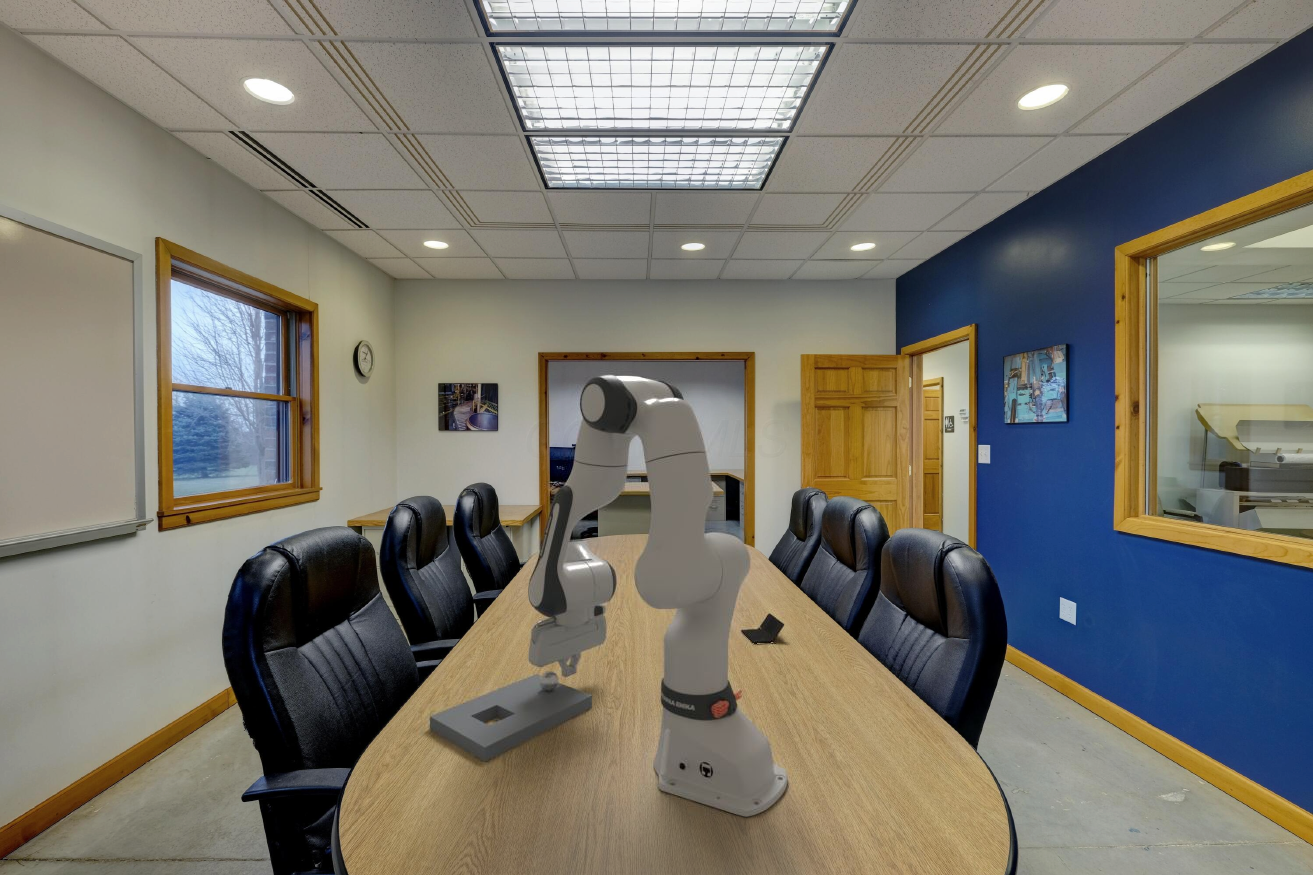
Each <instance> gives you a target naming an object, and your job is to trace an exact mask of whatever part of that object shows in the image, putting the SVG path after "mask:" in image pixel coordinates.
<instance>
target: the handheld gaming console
mask: <svg viewBox="0 0 1313 875" xmlns="http://www.w3.org/2000/svg"><path fill="white" fill-rule="evenodd" d="M784 626H785V623H784V622H782V621H781V620H780V619H778V618H777V617H775V616H774V615H773V614H772V613H768V614H767V615H766V617H765V618H764V620H762V623H761V624H760V625H759V627H757V628H750V629H749V628H747V629H741V630H740V632H742V633H743V634H744V635H745V636H746V637H747V638H748V639H749V640H750V641H751V642H750V643H752V644H753V643H754V644H757V643H771V642H774V641H775V640H776V638H777V637H778V636H779V634H780V632H781V631H782V629H783V628H784ZM742 633H741V634H742ZM743 634H742V635H743ZM745 636H744V637H745ZM746 637H745V638H746ZM747 638H746V639H747ZM748 639H747V640H748ZM749 640H748V641H749ZM774 643H775V642H774ZM754 644H753V645H754ZM757 645H758V644H757Z"/></svg>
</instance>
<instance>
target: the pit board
mask: <svg viewBox="0 0 1313 875" xmlns="http://www.w3.org/2000/svg"><path fill="white" fill-rule="evenodd" d="M540 677H541V675H540V674H537V673H536V674H532V675H530V676H528V677H526V678H523V679H520V680H517V681H515V682H513V683H510V684H508V685H505V686H502V687H500V688H497V689H495V690H493V691H490V692H488V693H485V694H483V695H480V696H478V697H474V698H472V699H470V700H467V701H464V702H463V703H460V704H456V705H455V706H452V707H449V708H447V709H445V710H443V711H440V712H437V713H434V714H432V715H430V716H429V730H430V731H431V732H434V733H435V734H437V735H438V736H440V737H441V738H443V739H445V740H447V741H448V742H450V743H452V744H453V745H455V746H457V747H458V748H461V750H464V751H466V752H467V753H469V754H470V755H472V756H474V757H476V758H477V759H479V760H480V761H482V762H484V763H485V762H488V761H489V760H491V759H494V758H496V757H498V756H500V755H502V754H504V753H505V752H507V751H510V750H512V749H513V748H515V747H518V746H519V745H521V744H523V743H525V742H527V741H530V740H531V739H533V738H535V737H537V736H539V735H541V734H543V733H545V732H547V731H548V730H549V731H550V730H551V729H553V728H555V727H557V726H559V725H561V724H563V723H564V722H566V721H568V720H570V719H571V720H572V718H574V717H576V716H578V715H580V714H583V713H584V712H586V711H589V710H590V709H592V708H593V695H591V694H588V693H586V692H584V691H581V690H579V689H576V688H573V687H571V686H569V685H566V684H563V683H561V682H558V685H557V687H556V688H555V689H554V690H552V691H545V690H543V689H542V688H541V687H540V683H539V680H540ZM496 718H497V719H499V720H498V721H496V722H494V723H492V724H490V725H489V724H487V722H490V721H491V720H494V719H496Z"/></svg>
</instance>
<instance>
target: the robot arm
mask: <svg viewBox="0 0 1313 875" xmlns="http://www.w3.org/2000/svg"><path fill="white" fill-rule="evenodd" d="M579 408H580V413H581V416H582V420H581V422H580V425H579V429H578V434H577V438H576V443H575V449H574V451H575V452H574V458H573V459H574V460H573V466H572V469H571V472H570V475H569V477H568V479H567V480H566V482H565V483H564V484H563V486H562V487H560V488H559V489H557V491H556V493H555V494H554V497H553V499H552V500H553V501H552V503H551V506H550V510H549V513H548V518H547V521H546V526H545V528H544V529H545V530H544V534H543V536H542V537H543V538H542V541H541V544H540V549H539V553H538V556H537V557H538V558H537V561H536V563H535V567H534V569H533V571H532V573H531V576H530V578H529V582H528V588H527V590H528V591H527V593H528V595H527V596H528V600H529V603H530V605H531V607H532V608H534V609H535V611H537V612H538V613H539V614H541V615H542V616H544V617H547V618H545V619H541V620H538V621H536V623H535V624H534V625H533V627H532V628H531V631H530V641H529V647H528V662H529V664H531V665H532V666H535V667H537V668H544V667H546V666H548V665H551V664H554V663H556V662H557V663H558V665H559V667H560V668H561V676H562V677H564V678H567V677H570V676H572V675H575V674H577V672H578V671H577V669H578V667H577V666H578V664H579V662H580V659H581V657H582V653H583V652H586V651H588V650H590V649H593V648H595V647H598V646H602V645H604V643H605V641H606V639H607V618H606V616H605V614H606V611H607V608H606V605H605V604H606V603H608V602H610V601H611V600H612V598H613V597H614V596H615V593H616V589H617V573H616V571H615V569H614V567H613V566H612V565H611V563H609V562H608V561H607V560H605V559H601V558H600V557H599V556H597V555H596V554H594V553H593V552H592V551H591V549H590V547H589V543H588V541H587V540H585V539H581V538H577V539H571V536H572V532H573V530H574V528H575V527H576V525H577V524H578V523H579V522H580V521H581V520H582V519H583V518H584V517H586V516H587V515H588V514H589V515H590V514H591V513H593V512H594V511H597V510H598V509H600V508H603V507H605V506H607V505H608V504H609V505H610V503H612V502H614V500H616V499H617V498H618V497H619V495H620V494H621V493H622V492H623V490H624V488H625V484H626V483H627V482H626V480H627V476H628V468H629V467H628V463H629V453H630V445H631V442H632V440H633V439H634V438H635V437H637V436H638V438H639V440H640V441H641V446H642V451H643V456H644V462H645V469H646V477H647V483H648V488H649V490H648V491H649V496H650V503H651V504H650V506H651V508H650V509H651V511H650V512H651V513H650V514H651V516H650V517H651V518H650V527H649V532H648V535H647V536H648V537H647V541H646V544H645V547H644V548H643V551H642V553H641V554H640V555H639V557H638V559H637V560H636V563H635V566H634V572H633V578H634V585H635V588H636V591H637V593H638V595H639V597H640V598H641V600H643V602H645V603H646V604H647V605H648V606H649V607H651V608H653V609H657V610H676V612H675V614H674V617H673V618H672V620H671V622H670V623H669V624H668V627H667V628H666V631H665V633H664V636H663V677H662V678H661V683H660V704H661V705H662V716H661V725H660V726H661V727H660V733H659V734H660V735H659V739H658V745H657V749H656V753H655V757H654V760H653V767H654V770H655V771H654V772H656V773H657V774H656V775H658V782H657V783H658V784H657V785H658V786H657V787H658V789H659V790H660V791H662V792H666V793H669V794H671V795H675V796H678V797H681V798H684V799H686V800H690V801H694V802H697V803H700V804H702V805H706V806H709V807H712V808H716V809H719V810H722V811H726V812H728V813H732V814H734V815H738V816H742V817H751V816H755V815H757V814H761V813H762V812H765V811H766V810H768V809H769V808H770V807H771V806H773V805H774V804H775V803H776V802H777V801H778V800H779V799H780V798H781V797H782V795H783V794H784V793H785V791H786V789H787V787H788V774H787V770H786V769H785V768H783V767H781V766H780V765H777V764H776V763H774V759H773V753H772V748H771V744H770V741H769V739H768V737H766V735H764V734H763V732H762V731H761V730H759V728H758V727H757V726H756V725H755V724H754V723H753V722H752V721H751V720H750V719H749V718H748V716H746V715H745V714H744V712H743V711H742V710H741V709H740V708H739V707H738V700H740V699H741V698H742V695H741V694H742V692H743V691H742V690H740V689H739V691H737V692H735V693H734V691H733V690H734V689H733V688H732V684H731V682H730V680H729V640H730V639H729V638H730V630H731V625H732V621H733V616H734V612H735V608H736V604H737V601H738V596H739V593H740V590H741V587H742V585H743V583H744V581H745V580H746V578H747V576H748V575H749V573H750V569H751V556H750V553H749V550H748V548H747V546H746V545H745V543H744V542H743V541H742V540H741V539H740V538H738V537H737V536H735V535H733V534H729V533H724V532H716V531H715V532H714V531H713V532H712V531H711V532H706V533H705V530H706V528H705V527H706V518H707V512H708V510H709V507H710V505H711V504H712V502H713V500H714V494H715V493H714V487H713V483H712V476H711V471H710V467H709V466H710V465H709V462H708V456H707V450H706V446H705V443H704V442H705V441H704V439H703V434H702V431H701V428H700V425H699V422H698V418H697V417H696V414H695V412H694V410H693V407H692V406H691V404H690V403H689V402H687V401H686V400H685V399H684V397H683V394H682V392H681V391H680V390H679V389H678V387H676V386H675V385H673V384H671V383H669V382H667V381H664V380H655V379H650V378H646V377H645V378H644V377H641V376H636V375H613V374H605V375H604V374H603V375H598V376H595V377H593V378H591V379H590V380H588V381H587V382H586V383H585V385H584V387H583V388H582V391H581V394H580V399H579ZM570 656H572V657H571V658H570V660H569V658H568V657H570ZM568 662H569V664H568Z"/></svg>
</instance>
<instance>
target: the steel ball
mask: <svg viewBox="0 0 1313 875" xmlns="http://www.w3.org/2000/svg"><path fill="white" fill-rule="evenodd" d="M540 676H541V677H540V680H539V683H540V687H541V688H542V689H543V690H545V691H552V690H554V689H555V688H556V687H557V685H558V683H559V677H558V674H557V673H556V672H555V671H553V670H547V671H545V672H543V673H542V674H541V675H540Z"/></svg>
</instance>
